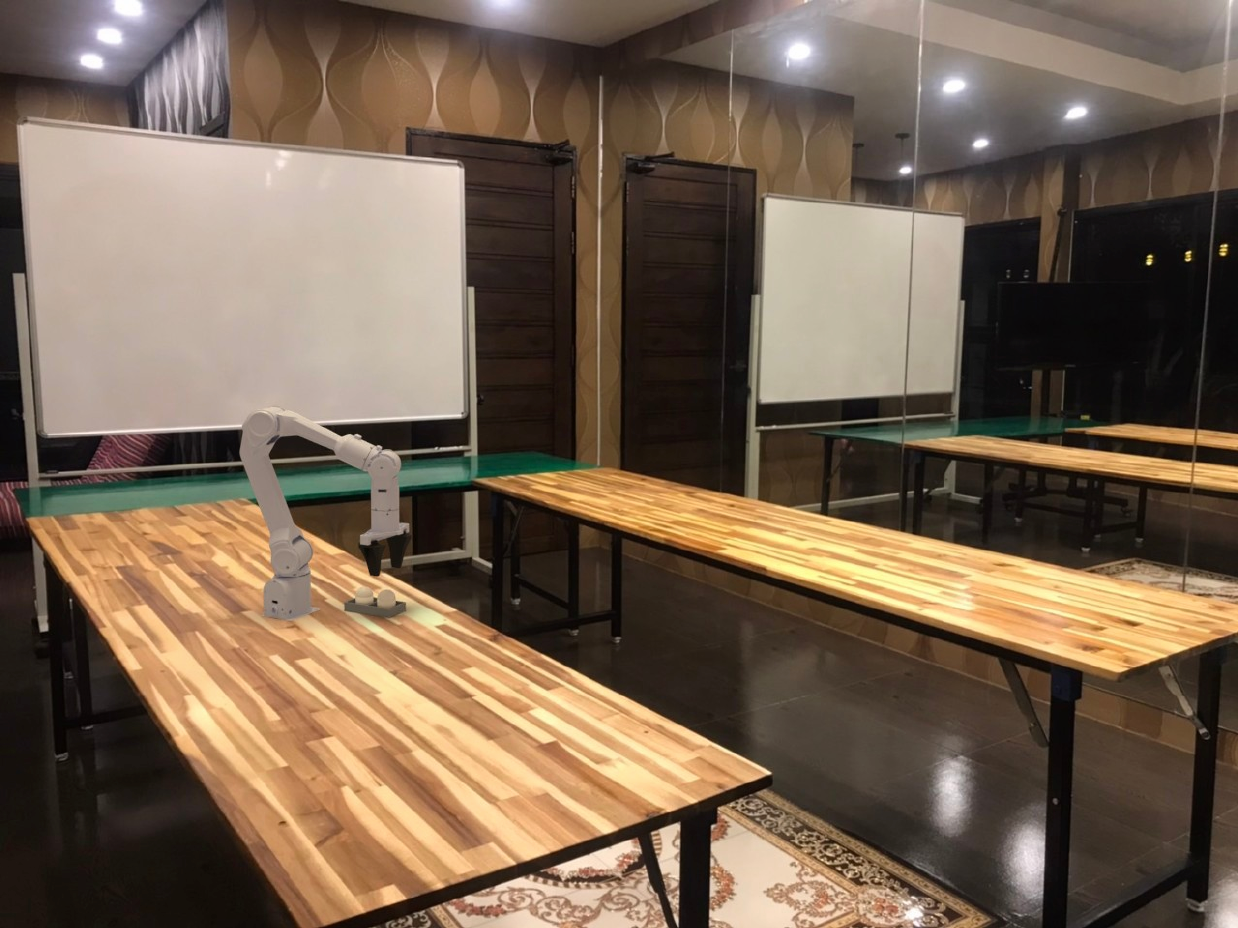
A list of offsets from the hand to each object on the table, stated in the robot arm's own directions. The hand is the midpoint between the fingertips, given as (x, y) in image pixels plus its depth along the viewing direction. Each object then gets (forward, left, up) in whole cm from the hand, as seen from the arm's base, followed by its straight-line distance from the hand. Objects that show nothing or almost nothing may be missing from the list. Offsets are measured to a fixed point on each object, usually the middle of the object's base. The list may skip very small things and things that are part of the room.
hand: (385, 571), depth 198 cm
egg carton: (0, +3, -9) cm, 10 cm away
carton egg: (0, +6, -9) cm, 11 cm away
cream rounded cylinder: (0, 0, -9) cm, 9 cm away
